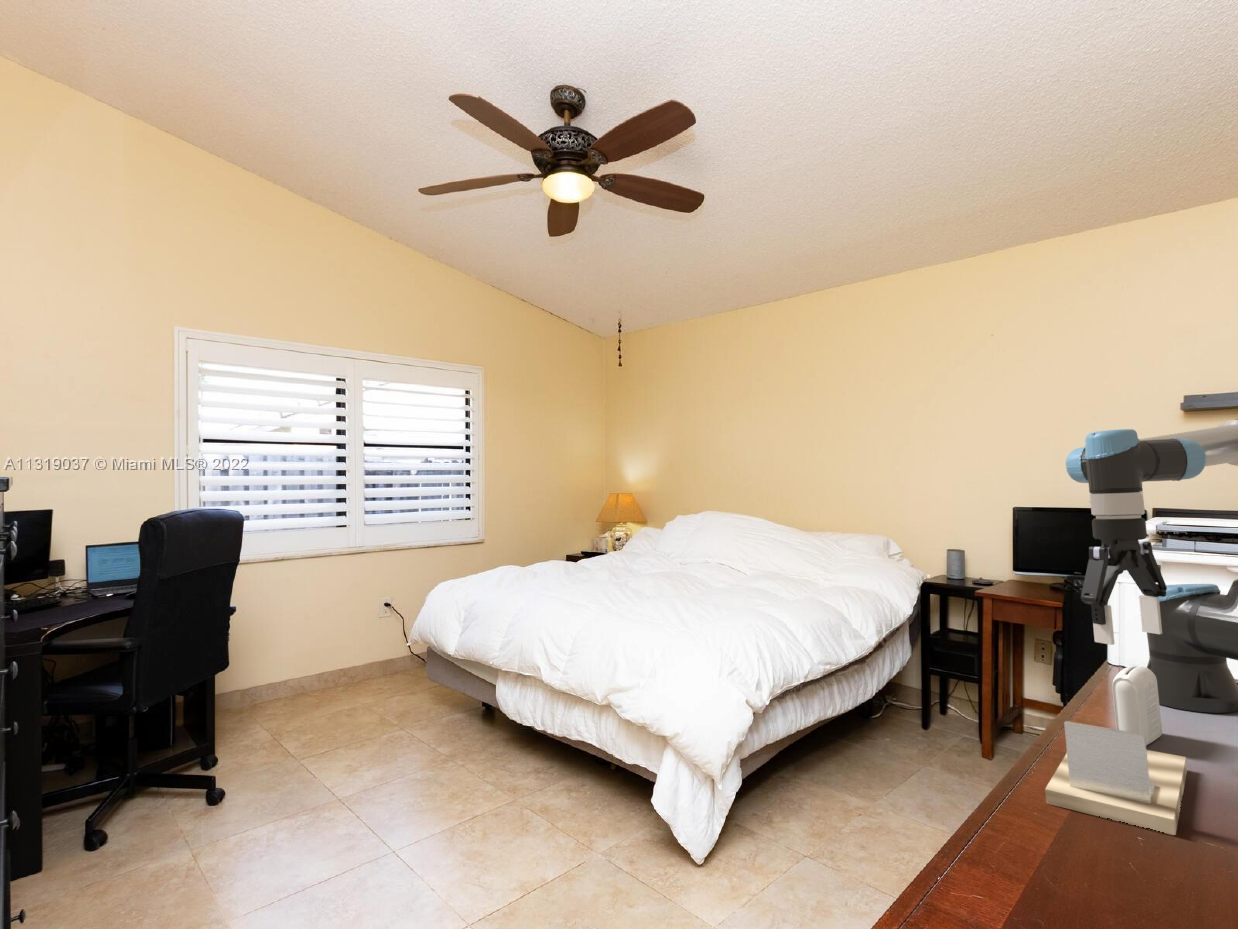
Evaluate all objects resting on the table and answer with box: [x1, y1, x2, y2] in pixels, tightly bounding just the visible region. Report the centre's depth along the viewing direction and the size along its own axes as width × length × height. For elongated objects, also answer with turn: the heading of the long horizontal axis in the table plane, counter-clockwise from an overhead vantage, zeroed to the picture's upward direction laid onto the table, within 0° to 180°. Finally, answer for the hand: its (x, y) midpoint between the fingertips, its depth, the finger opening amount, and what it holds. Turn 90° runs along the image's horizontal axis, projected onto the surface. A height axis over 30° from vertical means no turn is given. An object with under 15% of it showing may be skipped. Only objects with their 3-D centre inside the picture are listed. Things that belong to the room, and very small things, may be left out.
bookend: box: [1063, 720, 1156, 805], centre depth 91 cm, size 7×9×9 cm
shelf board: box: [1044, 749, 1188, 836], centre depth 95 cm, size 24×14×2 cm, turn 135°
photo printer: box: [1111, 665, 1163, 746], centre depth 111 cm, size 10×4×12 cm, turn 124°
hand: (1128, 638), depth 111 cm, fingers open, 13 cm apart
